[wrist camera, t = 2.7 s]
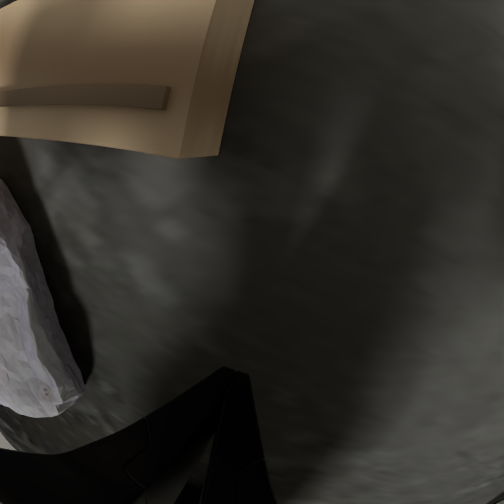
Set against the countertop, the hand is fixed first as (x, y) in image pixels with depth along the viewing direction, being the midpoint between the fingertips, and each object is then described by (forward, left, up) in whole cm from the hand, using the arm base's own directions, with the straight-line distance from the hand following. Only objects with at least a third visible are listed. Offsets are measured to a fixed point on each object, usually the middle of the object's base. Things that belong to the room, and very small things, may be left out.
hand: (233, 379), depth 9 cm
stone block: (-3, +12, -2) cm, 13 cm away
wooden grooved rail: (+8, +15, -1) cm, 17 cm away
